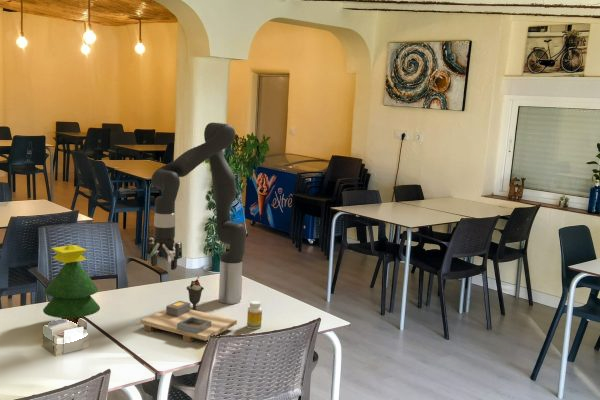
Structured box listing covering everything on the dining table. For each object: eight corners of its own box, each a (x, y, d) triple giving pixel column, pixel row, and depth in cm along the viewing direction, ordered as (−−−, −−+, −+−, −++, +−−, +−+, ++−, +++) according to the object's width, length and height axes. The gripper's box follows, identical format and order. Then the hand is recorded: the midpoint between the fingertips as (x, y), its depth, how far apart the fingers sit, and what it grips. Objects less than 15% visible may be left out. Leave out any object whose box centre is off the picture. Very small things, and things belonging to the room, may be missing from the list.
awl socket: (191, 321, 230) (191, 316, 230) (211, 326, 227) (211, 321, 227) (177, 328, 223) (177, 323, 223) (197, 333, 219) (197, 328, 219)
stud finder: (179, 308, 244) (179, 300, 243) (190, 310, 242) (190, 302, 241) (166, 313, 237) (166, 305, 236) (177, 316, 235) (177, 308, 234)
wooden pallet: (174, 314, 248) (174, 305, 247) (236, 329, 236) (236, 320, 235) (140, 329, 230) (140, 319, 229) (205, 346, 218) (206, 336, 217)
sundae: (199, 316, 247) (201, 278, 245) (183, 314, 248) (184, 276, 246) (205, 311, 253) (206, 274, 251) (189, 309, 255) (190, 272, 252)
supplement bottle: (245, 324, 241) (247, 300, 240) (259, 324, 243) (261, 299, 241) (248, 329, 236) (249, 304, 235) (262, 329, 238) (263, 304, 236)
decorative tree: (110, 327, 230) (111, 245, 225) (59, 339, 216) (59, 252, 211) (83, 313, 243) (84, 235, 238) (33, 323, 229) (33, 241, 224)
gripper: (186, 225, 234) (185, 268, 236) (155, 220, 240) (154, 262, 242) (174, 229, 227) (173, 273, 230) (142, 223, 233) (141, 266, 235)
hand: (163, 267), depth 236 cm, fingers open, 8 cm apart
